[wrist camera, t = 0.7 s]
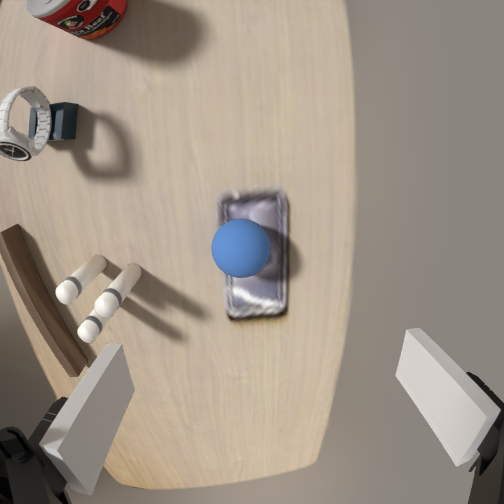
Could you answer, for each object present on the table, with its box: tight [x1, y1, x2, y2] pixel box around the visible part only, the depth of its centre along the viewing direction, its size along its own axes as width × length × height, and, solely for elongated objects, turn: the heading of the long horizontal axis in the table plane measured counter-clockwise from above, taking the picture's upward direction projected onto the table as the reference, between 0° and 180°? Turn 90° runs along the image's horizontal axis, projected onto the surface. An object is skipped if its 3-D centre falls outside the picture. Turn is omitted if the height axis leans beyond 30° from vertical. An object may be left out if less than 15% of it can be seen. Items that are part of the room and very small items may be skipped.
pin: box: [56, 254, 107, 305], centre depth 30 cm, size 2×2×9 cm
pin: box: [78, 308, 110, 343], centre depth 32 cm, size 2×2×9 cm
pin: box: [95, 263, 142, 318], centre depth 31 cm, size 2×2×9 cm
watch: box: [0, 86, 78, 161], centre depth 23 cm, size 6×8×11 cm
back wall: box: [0, 224, 88, 377], centre depth 35 cm, size 2×24×4 cm, turn 17°
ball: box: [212, 219, 271, 278], centre depth 31 cm, size 6×6×6 cm
